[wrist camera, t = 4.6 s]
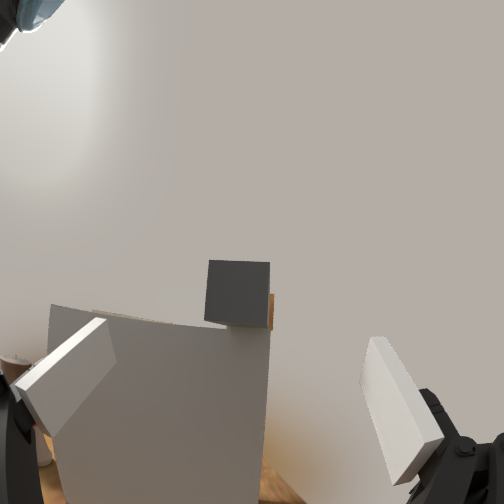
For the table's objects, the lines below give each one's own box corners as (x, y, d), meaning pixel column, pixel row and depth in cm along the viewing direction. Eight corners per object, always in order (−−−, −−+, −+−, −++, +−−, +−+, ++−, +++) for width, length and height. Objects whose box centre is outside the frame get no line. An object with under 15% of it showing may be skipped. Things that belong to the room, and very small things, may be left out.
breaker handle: (277, 324, 15) (280, 240, 16) (194, 319, 15) (202, 238, 16) (272, 330, 39) (273, 298, 41) (241, 329, 40) (242, 297, 41)
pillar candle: (40, 413, 44) (38, 360, 48) (13, 416, 35) (9, 358, 39) (22, 401, 46) (20, 351, 50) (-3, 402, 37) (-6, 348, 41)
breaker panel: (252, 557, 15) (270, 328, 24) (66, 502, 17) (51, 301, 26) (258, 497, 31) (270, 330, 40) (117, 468, 33) (116, 315, 42)
